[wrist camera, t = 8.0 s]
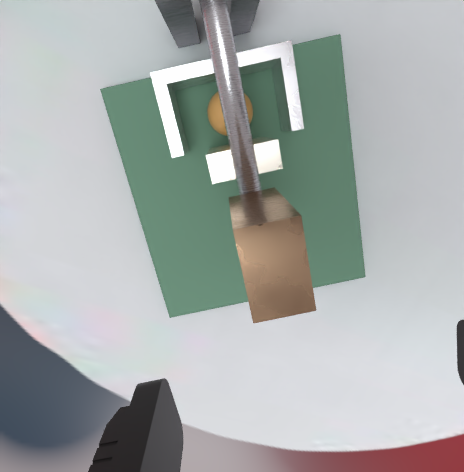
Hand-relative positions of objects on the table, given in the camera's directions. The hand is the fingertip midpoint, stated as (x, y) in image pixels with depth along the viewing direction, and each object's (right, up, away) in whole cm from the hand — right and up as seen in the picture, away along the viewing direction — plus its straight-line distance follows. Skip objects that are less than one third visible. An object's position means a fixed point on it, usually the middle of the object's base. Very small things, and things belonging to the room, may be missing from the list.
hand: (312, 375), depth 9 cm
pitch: (-1, +9, +26) cm, 27 cm away
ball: (-2, +15, +21) cm, 25 cm away
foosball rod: (-3, +20, +21) cm, 29 cm away
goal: (-3, +16, +22) cm, 28 cm away
